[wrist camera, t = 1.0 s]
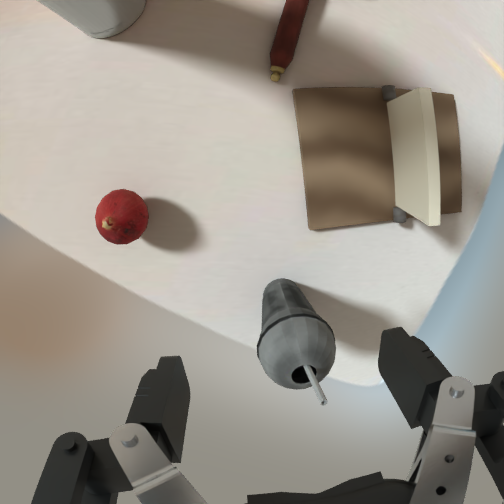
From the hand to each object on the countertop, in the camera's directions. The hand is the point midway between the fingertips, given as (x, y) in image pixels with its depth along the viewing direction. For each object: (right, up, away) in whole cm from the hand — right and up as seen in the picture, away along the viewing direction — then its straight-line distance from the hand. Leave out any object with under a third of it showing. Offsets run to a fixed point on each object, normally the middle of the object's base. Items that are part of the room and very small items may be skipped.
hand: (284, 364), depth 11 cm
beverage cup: (+2, -1, +27) cm, 27 cm away
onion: (-15, +9, +23) cm, 29 cm away
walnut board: (+15, +16, +22) cm, 31 cm away
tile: (+14, +14, +15) cm, 25 cm away
